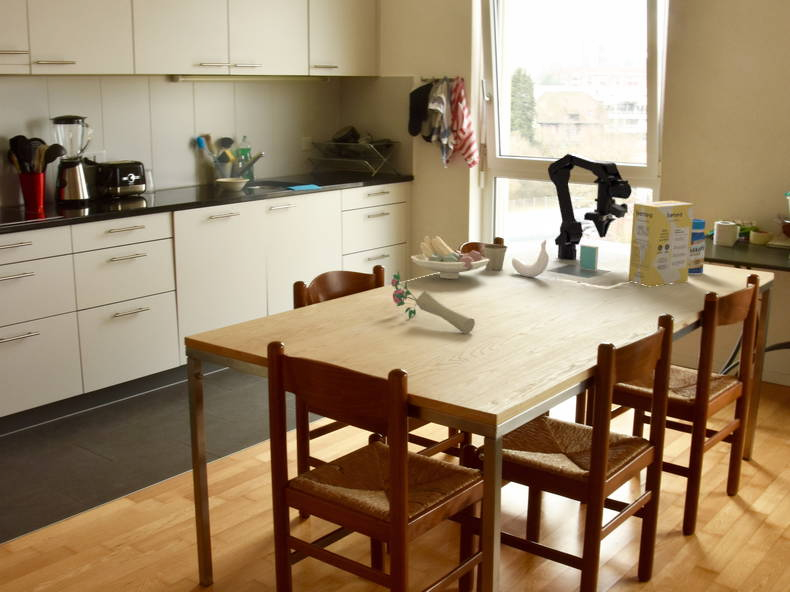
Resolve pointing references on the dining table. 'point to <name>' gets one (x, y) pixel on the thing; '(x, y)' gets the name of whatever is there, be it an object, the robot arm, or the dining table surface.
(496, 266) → the flower pot
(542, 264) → the banana
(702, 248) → the beverage bottle
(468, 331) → the flower vase
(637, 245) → the pasta box
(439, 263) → the dish with food
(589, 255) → the tile
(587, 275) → the slate board
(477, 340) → the dining table surface
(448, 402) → the dining table surface
